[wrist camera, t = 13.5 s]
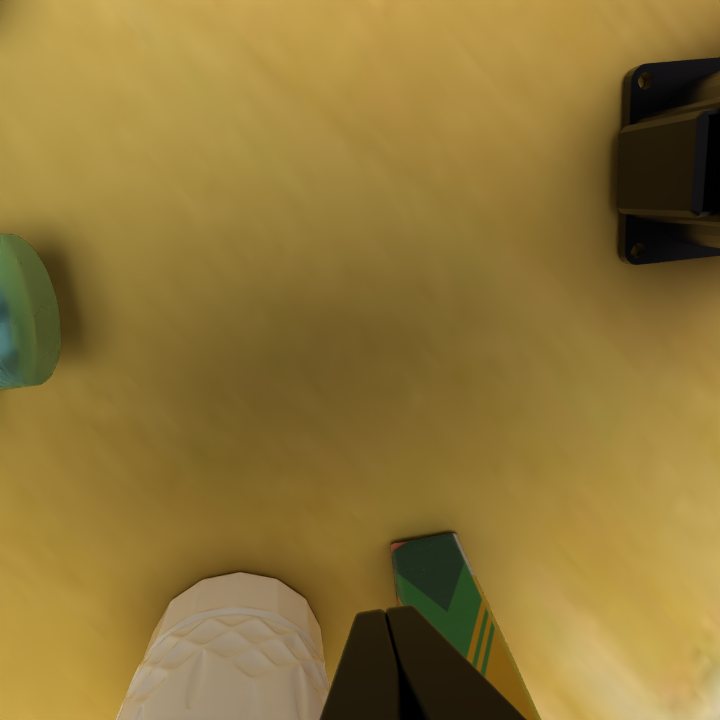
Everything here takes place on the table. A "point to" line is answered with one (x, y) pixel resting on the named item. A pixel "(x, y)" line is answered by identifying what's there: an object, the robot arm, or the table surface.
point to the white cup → (232, 656)
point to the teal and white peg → (26, 316)
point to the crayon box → (458, 610)
